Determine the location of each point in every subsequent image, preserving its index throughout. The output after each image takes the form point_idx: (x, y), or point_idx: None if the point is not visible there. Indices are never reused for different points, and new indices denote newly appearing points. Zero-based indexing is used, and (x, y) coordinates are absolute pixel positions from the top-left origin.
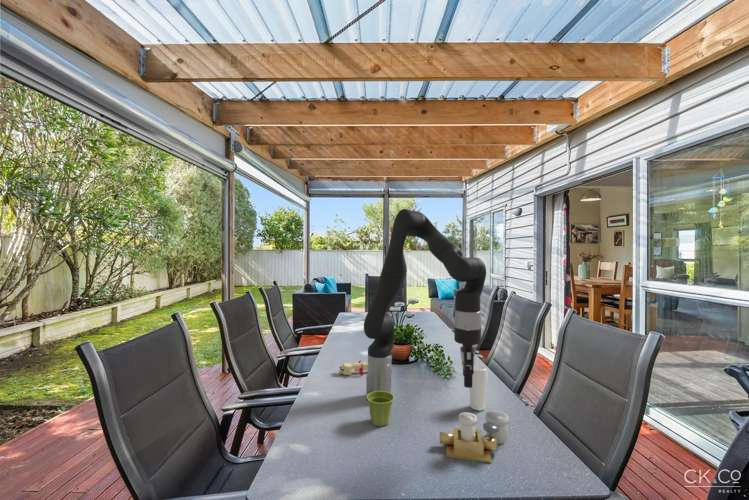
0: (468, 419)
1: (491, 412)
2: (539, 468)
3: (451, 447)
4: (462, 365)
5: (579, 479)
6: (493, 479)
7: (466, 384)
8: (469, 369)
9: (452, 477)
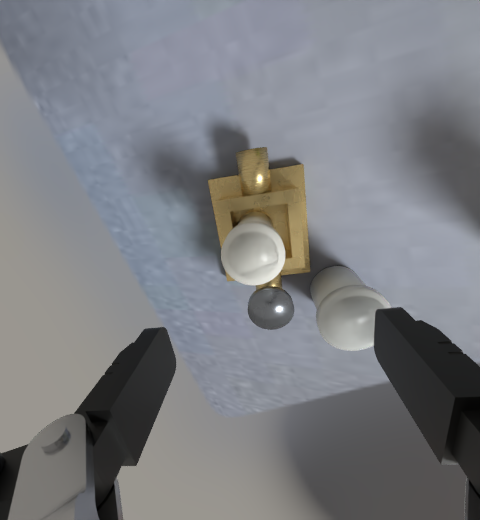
0: (230, 260)
1: (376, 308)
2: (245, 353)
3: (240, 188)
4: (74, 495)
5: (238, 399)
6: (176, 281)
7: (123, 356)
8: (405, 397)
9: (142, 204)
